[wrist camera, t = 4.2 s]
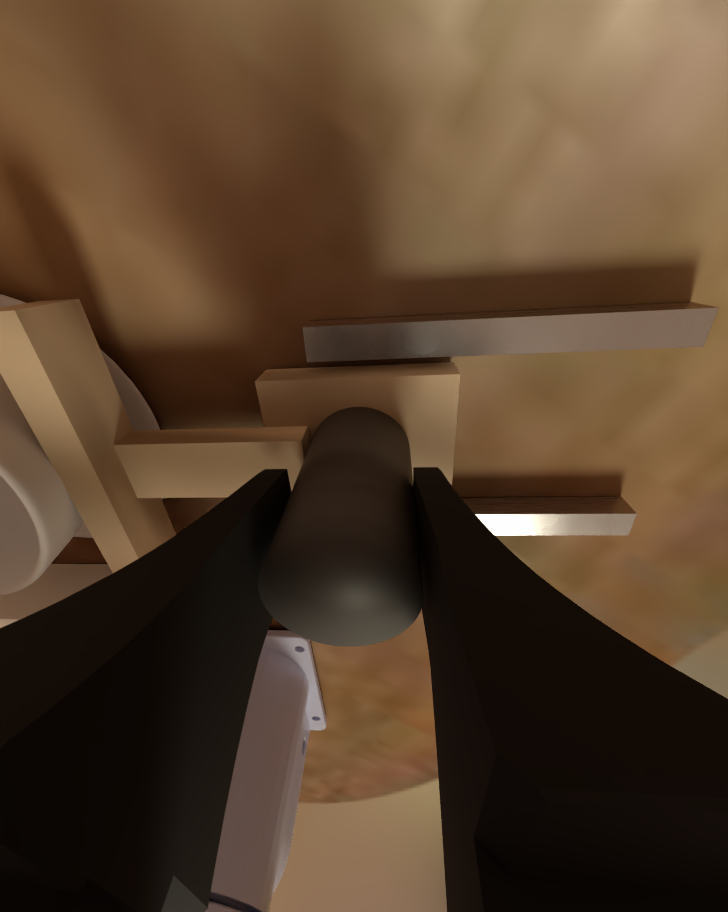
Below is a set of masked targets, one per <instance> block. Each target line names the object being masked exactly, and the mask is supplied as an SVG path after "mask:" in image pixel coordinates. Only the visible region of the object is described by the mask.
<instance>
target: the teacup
mask: <svg viewBox="0 0 728 912" xmlns="http://www.w3.org/2000/svg"><path fill="white" fill-rule="evenodd" d="M24 303H25V302H23V301H20V300H17V299H15V298H12V297H8V296H5V295H1V294H0V307H6V306H12V305H18V304H24ZM100 351H101V353H102V355H103V358H104V360H105V363H106V365H107V368H108V370H109V372H110V375H111V377H112V380H113V382H114V385H115V387H116V389H117V392H118V394H119V397H120V399H121V402H122V404H123V407H124V409H125V411H126V414H127V416H128V419H129V421H130V424H131V426H132V428H133V430H160V428H159V425H158V423H157V421H156V419H155V417H154V415H153V413H152V411H151V409H150V407H149V406H148V404H147V403H146V401H145V399H144V398H143V396H142V395H141V393H140V392H139V390H138V389H137V388H136V386H135V385H134V384H133V383H132V381H131V380H130V379H129V378H128V377H127V375H126V374H125V373H124V372H123V371H122V370H121V369H120V367H119V366H118V365H117V364H116V363H115V362H114V361H113V360H112V359H111V358H110V357H109V356H108V355H106V354H105V353H104V352H103V351H102V350H101V349H100ZM161 499H162V501H163V498H161ZM73 537H81V538H93V537H92V535H91V534H90V532H89V530H88V528H87V526H86V525H85V523H84V521H83V519H82V518H81V516H80V514H79V512H78V510H77V509H76V507H75V505H74V503H73V502H72V500H71V498H70V496H69V494H68V493H67V491H66V488H65V486H64V484H63V482H62V480H61V478H60V477H59V475H58V473H57V472H56V470H55V469H54V467H53V466H52V464H51V462H50V461H49V459H48V457H47V455H46V453H45V452H44V450H43V448H42V446H41V445H40V443H39V441H38V439H37V437H36V436H35V434H34V432H33V430H32V429H31V427H30V425H29V423H28V421H27V420H26V418H25V416H24V414H23V413H22V411H21V409H20V407H19V405H18V404H17V402H16V400H15V398H14V397H13V395H12V393H11V391H10V389H9V388H8V386H7V384H6V382H5V381H4V379H3V377H2V375H1V373H0V595H5V594H10V593H13V592H17V591H19V590H22V589H24V588H26V587H27V586H29V585H31V584H32V583H34V582H35V581H36V580H37V579H38V578H39V577H40V576H41V575H42V574H43V573H44V572H45V570H46V569H47V568H48V567H49V565H50V564H51V563H52V562H53V561H54V559H55V558H56V557H57V556H58V555H59V553H60V552H61V551H62V550H63V549H64V548H65V546H66V545H67V544H68V543H69V542H70V540H71V539H72V538H73Z"/></svg>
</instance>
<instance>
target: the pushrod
mask: <svg viewBox="0 0 728 912" xmlns="http://www.w3.org/2000/svg"><path fill="white" fill-rule="evenodd" d="M0 373H1V375H2V377H3V379H4V381H5V382H6V384H7V386H8V388H9V389H10V391H11V393H12V395H13V397H14V398H15V400H16V402H17V404H18V405H19V407H20V409H21V411H22V413H23V414H24V416H25V418H26V420H27V421H28V423H29V425H30V427H31V429H32V430H33V432H34V434H35V436H36V437H37V439H38V441H39V443H40V445H41V446H42V448H43V450H44V452H45V453H46V455H47V457H48V459H49V461H50V462H51V464H52V466H53V467H54V469H55V470H56V472H57V473H58V475H59V477H60V478H61V480H62V482H63V484H64V486H65V488H66V491H67V493H68V494H69V496H70V498H71V500H72V502H73V503H74V505H75V507H76V509H77V510H78V512H79V514H80V516H81V518H82V519H83V521H84V523H85V525H86V526H87V528H88V530H89V532H90V534H91V535H92V537H93V539H94V541H95V542H96V544H97V546H98V548H99V550H100V551H101V553H102V555H103V557H104V558H105V560H106V562H107V564H108V566H109V567H110V569H111V571H112V573H114V572H116V571H118V570H120V569H122V568H123V567H125V566H127V565H129V564H130V563H132V562H134V561H135V560H137V559H139V558H140V557H142V556H144V555H145V554H147V553H149V552H150V551H152V550H154V549H155V548H157V547H158V546H160V545H161V544H163V543H165V542H166V541H168V540H169V539H171V538H172V537H174V536H175V535H176V533H175V531H174V528H173V526H172V523H171V521H170V519H169V516H168V514H167V511H166V509H165V506H164V504H163V502H162V499H161V498H213V497H228V496H230V495H231V494H232V493H234V492H235V491H236V490H237V489H239V488H240V487H241V486H243V485H244V484H245V483H246V482H248V481H249V480H250V479H252V478H253V477H254V476H256V475H257V474H258V473H260V472H261V471H263V470H264V469H287V470H288V476H289V481H290V487H291V494H290V497H289V499H288V502H287V504H286V507H285V509H284V512H283V514H282V517H281V519H280V522H279V525H278V527H277V530H276V532H275V535H274V537H273V540H272V542H271V545H270V547H269V550H268V552H267V555H266V557H265V560H264V562H263V565H262V568H261V570H260V573H259V577H258V590H259V595H260V598H261V600H262V603H263V604H264V606H265V608H266V609H267V611H268V612H269V613H270V615H271V616H272V617H273V618H274V619H275V620H276V621H277V622H279V623H280V624H281V625H282V626H284V627H285V628H287V629H288V630H290V631H291V632H293V633H295V634H297V635H299V636H302V637H304V638H306V639H309V640H312V641H315V642H319V643H323V644H328V645H335V646H364V645H370V644H375V643H379V642H382V641H385V640H388V639H390V638H393V637H395V636H396V635H398V634H400V633H402V632H403V631H404V630H406V629H407V628H408V627H409V626H410V625H411V624H412V623H413V622H414V621H415V620H416V618H417V617H418V615H419V613H420V611H421V608H422V605H423V599H424V593H423V581H422V571H421V560H420V549H419V539H418V528H417V521H416V514H415V503H414V492H413V467H438V468H439V469H440V470H441V471H442V472H443V474H444V475H445V477H446V478H447V480H448V481H449V482H450V484H451V485H452V478H453V464H454V451H455V438H456V425H457V411H458V398H459V385H460V373H459V371H458V369H457V367H456V365H455V363H454V362H447V363H421V364H395V365H369V366H343V367H316V368H290V369H266V370H265V371H264V372H263V373H262V374H261V376H260V377H259V378H258V379H257V380H256V381H255V385H256V390H257V395H258V399H259V404H260V409H261V414H262V418H263V423H264V427H251V428H211V429H171V430H133V428H132V426H131V424H130V421H129V419H128V416H127V414H126V411H125V409H124V407H123V404H122V402H121V399H120V397H119V394H118V392H117V389H116V387H115V385H114V382H113V380H112V377H111V375H110V372H109V370H108V368H107V365H106V363H105V360H104V358H103V355H102V353H101V351H100V348H99V346H98V343H97V341H96V338H95V336H94V333H93V331H92V329H91V326H90V324H89V321H88V319H87V316H86V314H85V312H84V309H83V307H82V304H81V302H80V299H64V300H47V301H35V302H30V303H24V304H18V305H12V306H6V307H0Z"/></svg>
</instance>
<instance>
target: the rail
mask: <svg viewBox="0 0 728 912" xmlns="http://www.w3.org/2000/svg"><path fill="white" fill-rule="evenodd" d="M718 308H719V307H714V306H709V305H704V304H699V303H694V302H684V303H663V304H643V305H622V306H602V307H581V308H561V309H541V310H520V311H500V312H479V313H459V314H439V315H418V316H398V317H377V318H357V319H337V320H316V321H308V322H307V323H306V324H305V325H304V326H303V327H302V329H303V336H304V344H305V351H306V359H307V362H327V361H353V360H378V359H403V358H428V357H453V356H479V355H504V354H529V353H554V352H579V351H605V350H630V349H655V348H680V347H703V346H704V344H705V341H706V339H707V336H708V334H709V331H710V329H711V326H712V324H713V321H714V319H715V316H716V314H717V311H718ZM462 499H463V501H464V502H465V503H466V504H467V505H468V507H469V508H470V509H471V510H472V511H473V512H474V513H475V515H476V516H477V517H478V518H479V519H480V520H481V521H482V523H483V524H484V525H485V526H486V527H487V528H488V529H489V530H490V531H491V532H492V533H493V534H494V535H629V532H630V530H631V527H632V525H633V522H634V520H635V517H636V515H637V513H636V512H635V511H634V510H633V509H632V508H631V507H630V506H629V504H628V503H627V502H626V501H625V500H624V499H623V498H622V497H530V498H462Z"/></svg>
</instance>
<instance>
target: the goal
mask: <svg viewBox="0 0 728 912" xmlns="http://www.w3.org/2000/svg"><path fill="white" fill-rule="evenodd" d="M111 574H113V573H112V571H111V569H110V567H109V566H108V564H50V565H49V567H48V568H47V569H46V570H45V572H44V573H43V574H42V575H41V576H40V577H39V578H38V579H37V580H36V581H35V582H34V583H32V584H31V585H29V586H27V587H26V588H24V589H22V590H19V591H17V592H13V593H10V594H5V595H0V628H2V627H4V626H6V625H9V624H11V623H13V622H15V621H18V620H20V619H22V618H24V617H27V616H29V615H31V614H33V613H35V612H37V611H39V610H42V609H44V608H46V607H48V606H50V605H52V604H54V603H56V602H58V601H61V600H63V599H65V598H67V597H68V596H70V595H72V594H74V593H76V592H78V591H80V590H82V589H84V588H86V587H88V586H90V585H91V584H93V583H95V582H97V581H99V580H101V579H103V578H105V577H107V576H109V575H111Z"/></svg>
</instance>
